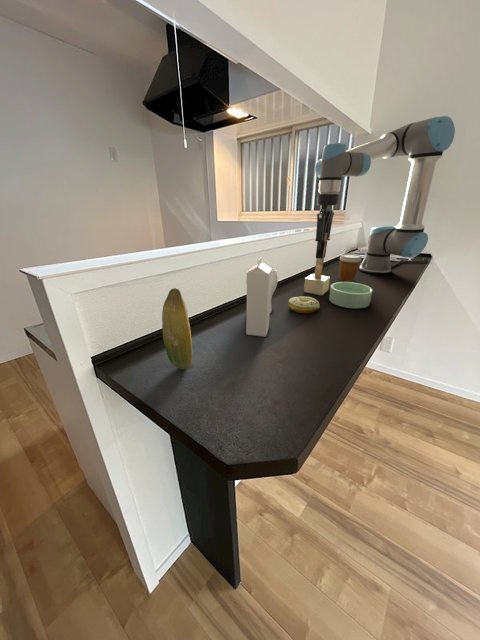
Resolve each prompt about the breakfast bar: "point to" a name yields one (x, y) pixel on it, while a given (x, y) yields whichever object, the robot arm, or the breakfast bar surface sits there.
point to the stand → (316, 285)
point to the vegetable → (177, 330)
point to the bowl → (350, 294)
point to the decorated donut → (303, 304)
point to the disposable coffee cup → (349, 267)
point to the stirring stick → (320, 263)
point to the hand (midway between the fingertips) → (320, 257)
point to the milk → (258, 299)
